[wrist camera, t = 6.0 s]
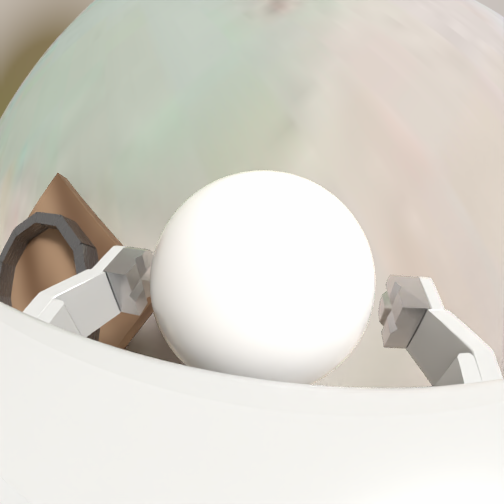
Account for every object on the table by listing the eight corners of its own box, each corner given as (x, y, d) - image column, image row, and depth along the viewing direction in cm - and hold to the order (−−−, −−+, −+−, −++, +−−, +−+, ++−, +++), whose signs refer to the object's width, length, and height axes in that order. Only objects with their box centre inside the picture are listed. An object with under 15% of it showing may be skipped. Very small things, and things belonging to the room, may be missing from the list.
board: (66, 178, 20) (57, 172, 19) (168, 292, 17) (159, 291, 16) (-4, 298, 19) (-12, 297, 18) (70, 422, 16) (60, 426, 15)
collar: (54, 191, 18) (41, 184, 17) (134, 292, 16) (120, 290, 14) (-5, 297, 18) (-18, 296, 16) (56, 406, 15) (42, 410, 14)
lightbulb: (206, 261, 17) (86, 187, 6) (310, 225, 16) (333, 92, 6) (240, 367, 15) (152, 453, 5) (348, 330, 15) (450, 361, 4)
